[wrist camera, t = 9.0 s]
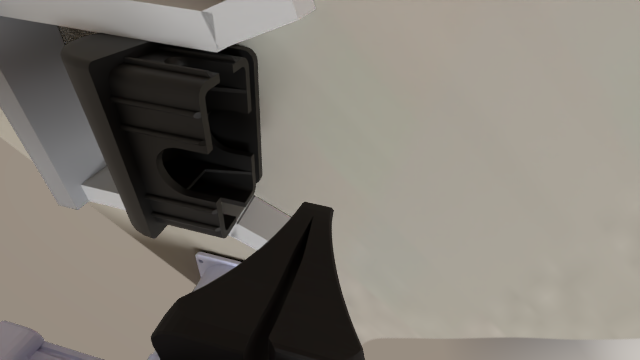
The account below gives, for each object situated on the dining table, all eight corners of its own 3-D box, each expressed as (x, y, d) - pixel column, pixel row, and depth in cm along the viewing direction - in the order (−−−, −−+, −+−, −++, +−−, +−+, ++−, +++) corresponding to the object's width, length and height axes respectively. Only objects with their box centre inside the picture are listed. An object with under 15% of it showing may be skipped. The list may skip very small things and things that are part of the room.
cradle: (299, 235, 24) (283, 276, 21) (108, 189, 26) (68, 220, 23) (318, -28, 14) (292, -22, 11) (-6, -70, 16) (-108, -75, 13)
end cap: (137, 20, 17) (16, 51, 12) (257, 38, 16) (184, 80, 11) (175, 166, 23) (106, 229, 18) (263, 185, 22) (218, 257, 17)
